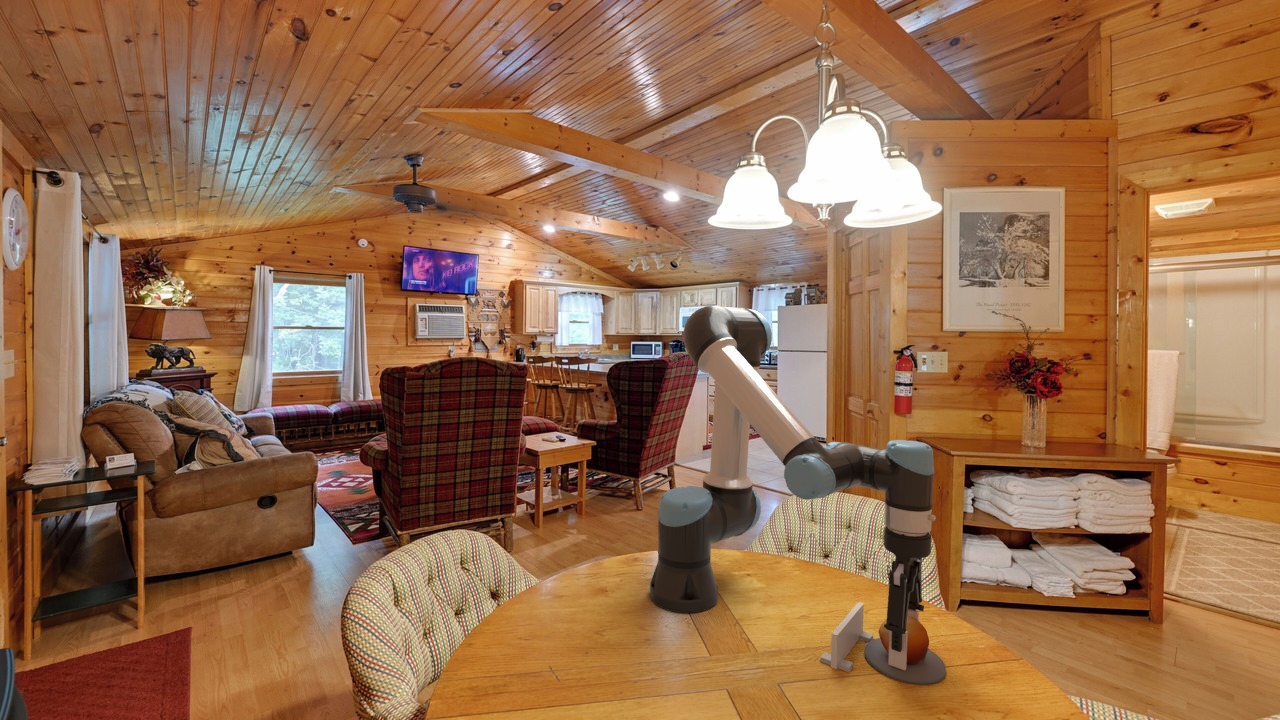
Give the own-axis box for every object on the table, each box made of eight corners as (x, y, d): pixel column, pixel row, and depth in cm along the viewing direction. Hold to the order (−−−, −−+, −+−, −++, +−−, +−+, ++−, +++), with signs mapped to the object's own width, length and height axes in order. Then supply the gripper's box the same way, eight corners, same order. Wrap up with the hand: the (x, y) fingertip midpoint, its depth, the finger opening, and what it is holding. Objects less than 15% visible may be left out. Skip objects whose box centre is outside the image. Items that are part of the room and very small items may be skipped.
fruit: (947, 665, 91) (922, 623, 92) (903, 683, 93) (879, 641, 93) (931, 640, 99) (908, 601, 100) (891, 657, 100) (869, 618, 101)
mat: (854, 664, 95) (854, 660, 95) (875, 634, 105) (875, 630, 105) (937, 695, 87) (937, 690, 87) (951, 659, 97) (951, 655, 97)
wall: (819, 662, 96) (820, 629, 95) (847, 628, 107) (848, 598, 107) (848, 673, 92) (849, 639, 92) (873, 637, 104) (874, 606, 104)
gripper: (917, 551, 85) (912, 693, 86) (942, 519, 101) (938, 638, 102) (867, 540, 90) (863, 674, 90) (899, 510, 106) (896, 624, 107)
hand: (903, 655), depth 96 cm, fingers closed on fruit, 8 cm apart
